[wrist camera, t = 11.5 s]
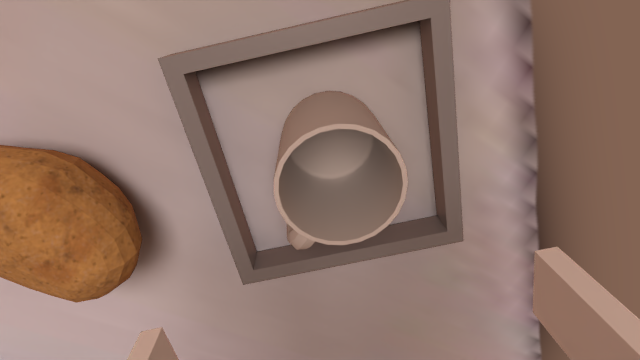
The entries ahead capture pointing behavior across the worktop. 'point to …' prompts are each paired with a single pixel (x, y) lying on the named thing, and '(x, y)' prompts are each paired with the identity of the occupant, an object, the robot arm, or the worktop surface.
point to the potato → (63, 225)
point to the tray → (420, 5)
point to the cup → (336, 172)
